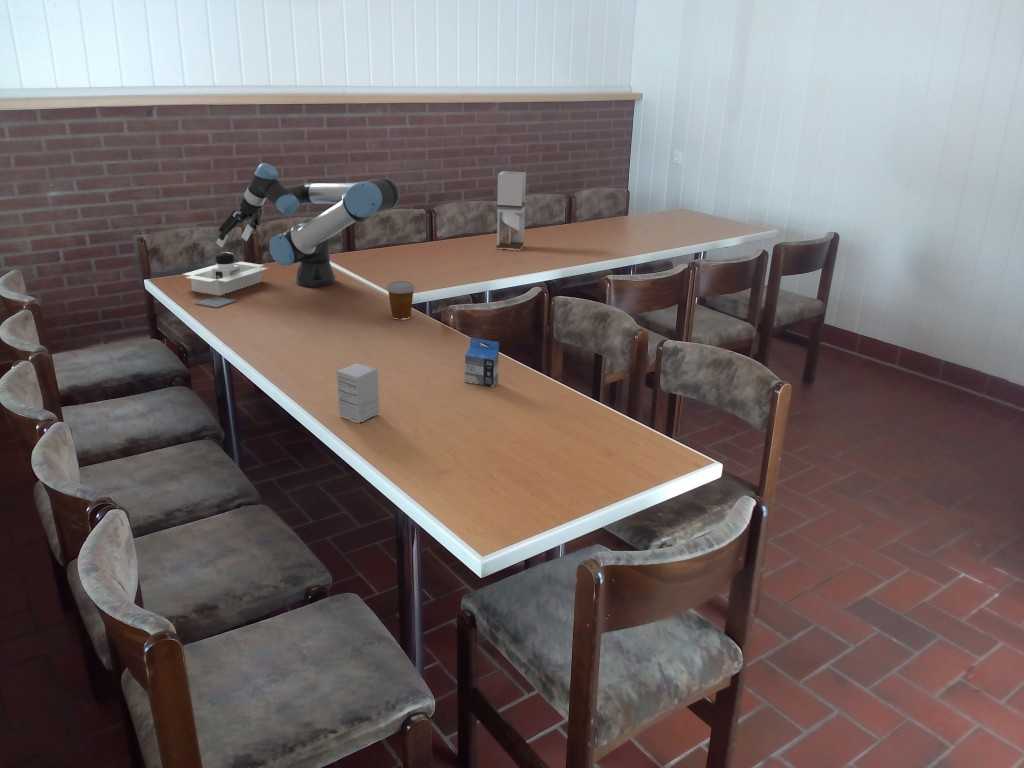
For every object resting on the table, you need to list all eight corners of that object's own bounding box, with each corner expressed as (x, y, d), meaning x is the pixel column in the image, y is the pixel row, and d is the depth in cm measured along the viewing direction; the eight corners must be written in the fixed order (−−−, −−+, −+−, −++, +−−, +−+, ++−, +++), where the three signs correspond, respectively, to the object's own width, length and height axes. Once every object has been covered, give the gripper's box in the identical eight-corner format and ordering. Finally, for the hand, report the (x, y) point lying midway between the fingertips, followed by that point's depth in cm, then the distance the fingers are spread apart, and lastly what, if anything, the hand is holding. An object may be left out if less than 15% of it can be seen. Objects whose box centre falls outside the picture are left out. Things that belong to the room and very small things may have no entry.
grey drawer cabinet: (359, 407, 213) (356, 362, 208) (380, 415, 209) (378, 368, 204) (338, 417, 207) (335, 370, 202) (359, 424, 203) (357, 377, 198)
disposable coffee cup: (393, 323, 279) (392, 289, 275) (383, 315, 287) (382, 282, 283) (419, 319, 284) (418, 286, 279) (409, 312, 291) (408, 279, 287)
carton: (274, 281, 325) (273, 266, 322) (221, 299, 300) (220, 283, 298) (233, 274, 333) (231, 260, 330) (178, 291, 308) (176, 275, 306)
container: (231, 289, 312) (228, 256, 307) (213, 288, 314) (209, 254, 309) (242, 284, 319) (238, 251, 314) (223, 283, 321) (220, 250, 316)
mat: (236, 301, 298) (236, 300, 298) (216, 308, 290) (216, 306, 289) (215, 297, 302) (215, 296, 302) (195, 304, 293) (195, 302, 293)
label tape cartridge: (464, 382, 231) (464, 341, 226) (469, 378, 234) (470, 337, 230) (493, 387, 228) (494, 346, 223) (498, 383, 231) (499, 341, 227)
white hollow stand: (496, 249, 388) (497, 174, 375) (500, 245, 398) (502, 171, 385) (520, 251, 387) (522, 175, 373) (523, 246, 396) (526, 172, 383)
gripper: (268, 189, 319) (247, 229, 330) (222, 198, 298) (201, 241, 309) (281, 202, 318) (260, 242, 330) (236, 211, 297) (215, 254, 308)
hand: (231, 241), depth 319 cm, fingers open, 13 cm apart
